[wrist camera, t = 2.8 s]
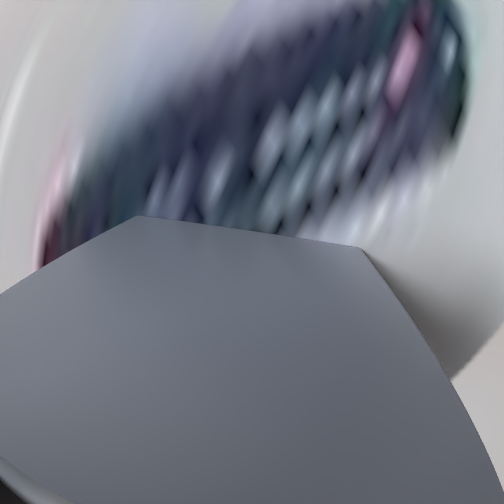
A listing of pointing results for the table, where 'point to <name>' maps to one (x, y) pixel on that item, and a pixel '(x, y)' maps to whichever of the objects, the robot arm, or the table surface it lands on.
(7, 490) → the robot arm
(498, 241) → the table surface
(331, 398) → the grey cube
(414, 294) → the table surface
